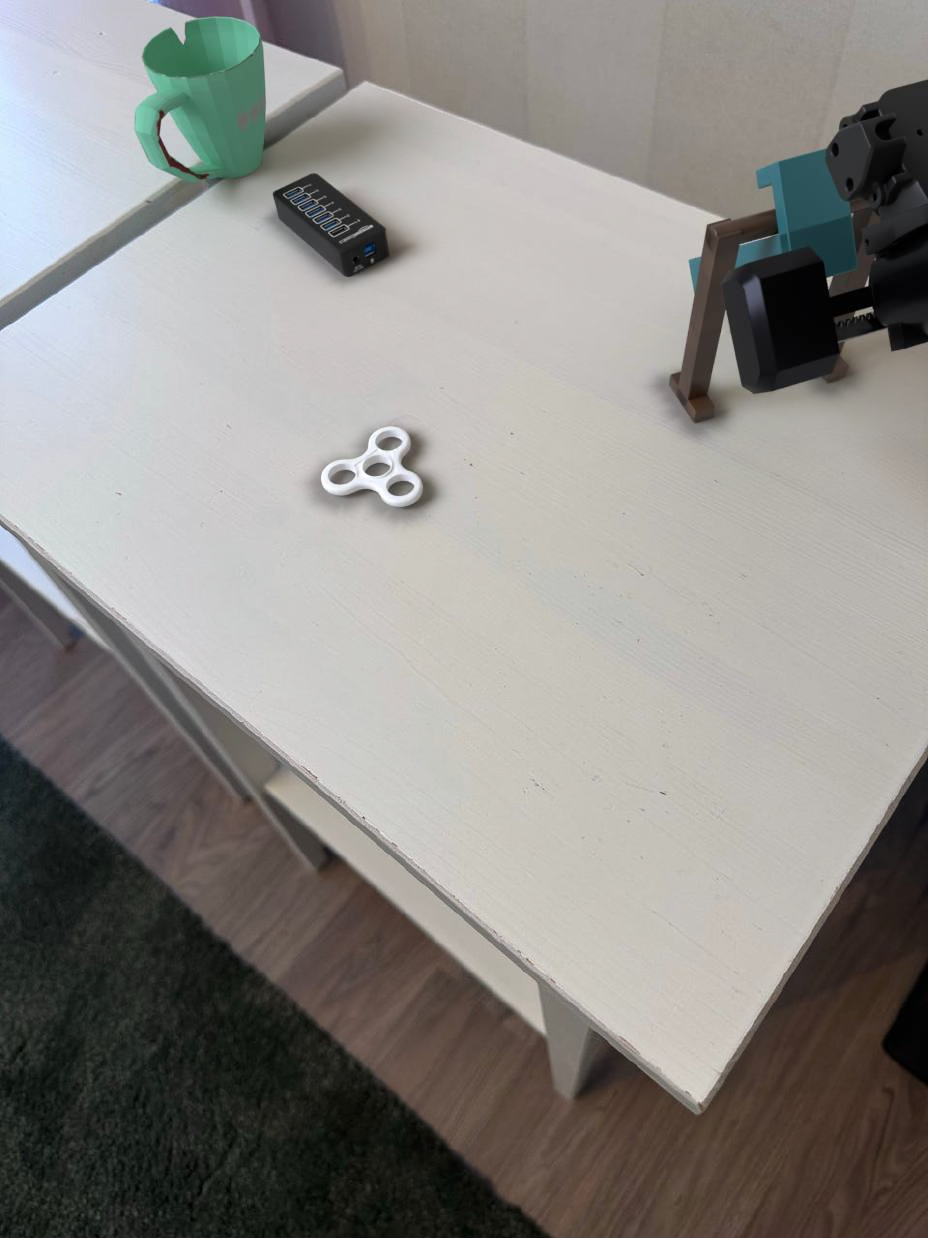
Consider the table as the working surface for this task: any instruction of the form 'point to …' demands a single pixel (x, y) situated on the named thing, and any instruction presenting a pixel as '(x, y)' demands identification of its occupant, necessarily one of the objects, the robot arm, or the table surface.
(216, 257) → the table surface
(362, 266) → the multiport hub
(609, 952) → the table surface
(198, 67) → the mug
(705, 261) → the rack
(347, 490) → the fidget spinner
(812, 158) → the teal angular block
